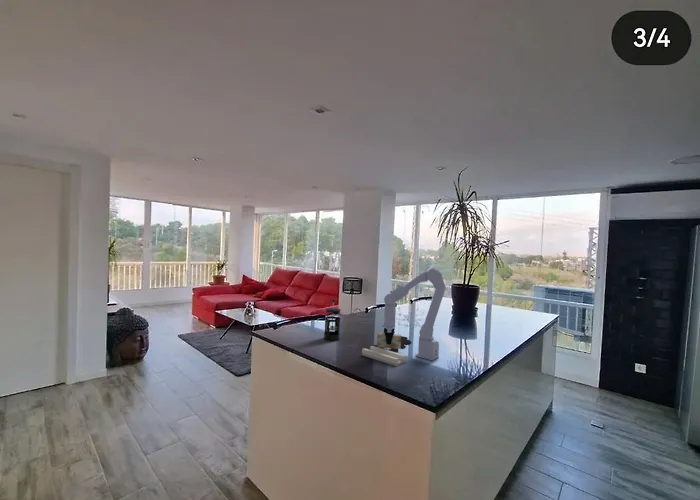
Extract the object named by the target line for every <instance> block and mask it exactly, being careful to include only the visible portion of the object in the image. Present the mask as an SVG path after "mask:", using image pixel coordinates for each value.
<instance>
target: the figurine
mask: <svg viewBox="0 0 700 500" xmlns="http://www.w3.org/2000/svg"><path fill="white" fill-rule="evenodd" d="M411 344H412V341H411V340H410V339H409V338H408V337H406V336H403V335H401V349H402V350H404V349H406V348H407V346H409V345H411ZM372 346H375V347H377V344H373V345H372ZM379 348H381V347H379ZM401 349H400V350H401ZM387 350H389V351H392V352H396V353H398V352H399V349H394V348H387Z"/></svg>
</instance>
